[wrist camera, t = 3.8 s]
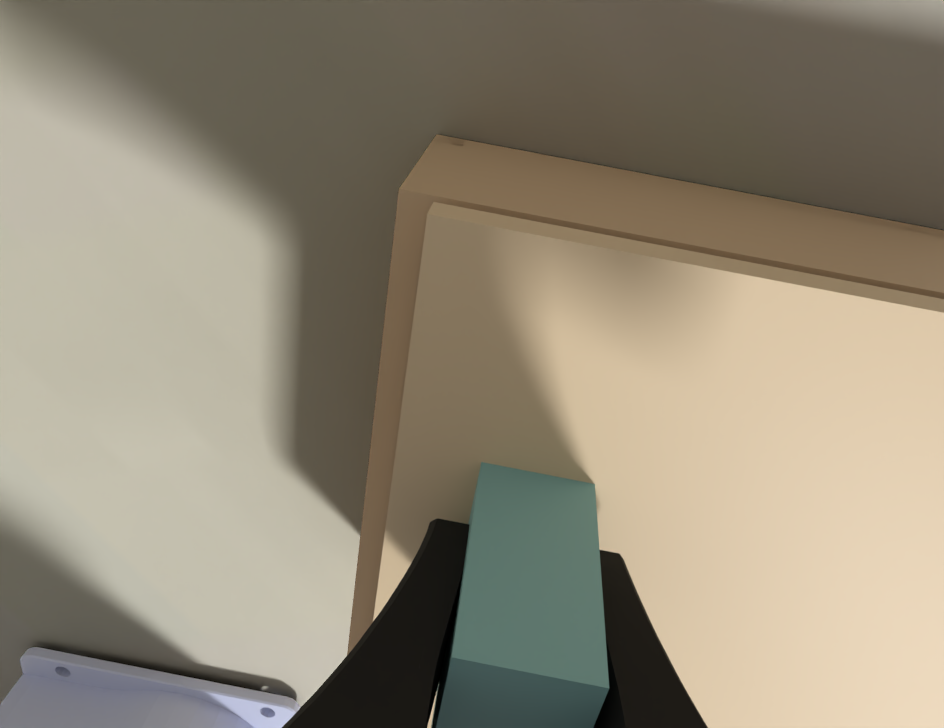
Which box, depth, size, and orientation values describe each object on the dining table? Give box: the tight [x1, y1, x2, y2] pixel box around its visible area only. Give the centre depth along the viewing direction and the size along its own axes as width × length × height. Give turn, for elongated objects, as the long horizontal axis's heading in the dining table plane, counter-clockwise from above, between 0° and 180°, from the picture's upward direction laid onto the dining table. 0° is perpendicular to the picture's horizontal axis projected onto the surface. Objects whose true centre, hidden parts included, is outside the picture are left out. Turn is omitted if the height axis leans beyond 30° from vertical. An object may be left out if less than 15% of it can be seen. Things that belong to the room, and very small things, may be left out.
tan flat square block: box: [373, 202, 944, 728], centre depth 12 cm, size 12×12×5 cm
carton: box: [347, 134, 944, 655], centre depth 16 cm, size 12×12×4 cm
